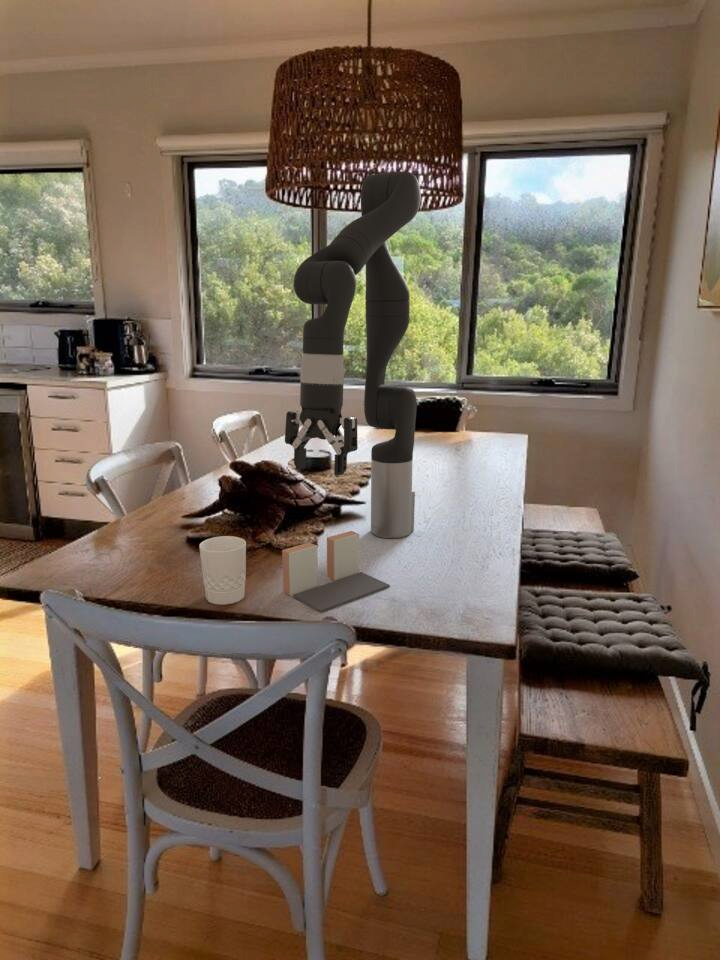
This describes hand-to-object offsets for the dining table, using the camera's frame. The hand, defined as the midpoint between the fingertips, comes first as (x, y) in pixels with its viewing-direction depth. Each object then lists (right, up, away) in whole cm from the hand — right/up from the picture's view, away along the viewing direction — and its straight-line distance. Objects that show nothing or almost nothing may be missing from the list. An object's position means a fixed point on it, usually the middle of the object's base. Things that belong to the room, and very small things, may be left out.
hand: (319, 471), depth 115 cm
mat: (+4, -22, 0) cm, 22 cm away
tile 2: (+4, -20, +8) cm, 22 cm away
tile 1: (-4, -21, +1) cm, 22 cm away
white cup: (-16, -22, -2) cm, 28 cm away
